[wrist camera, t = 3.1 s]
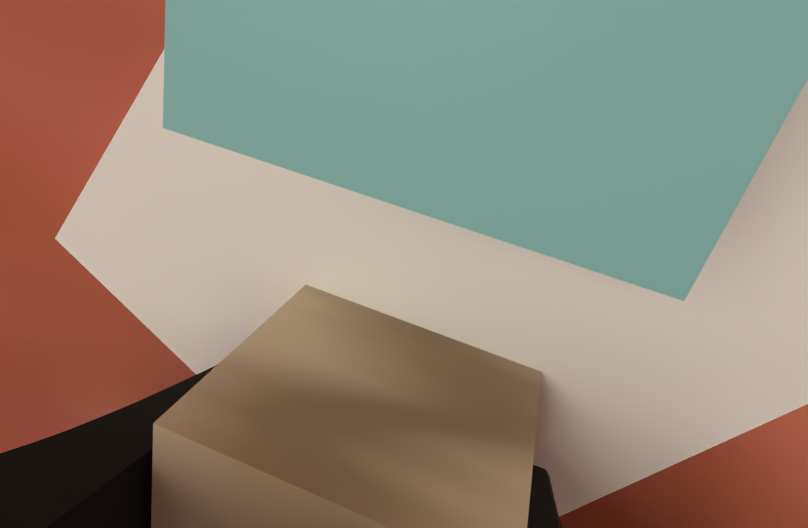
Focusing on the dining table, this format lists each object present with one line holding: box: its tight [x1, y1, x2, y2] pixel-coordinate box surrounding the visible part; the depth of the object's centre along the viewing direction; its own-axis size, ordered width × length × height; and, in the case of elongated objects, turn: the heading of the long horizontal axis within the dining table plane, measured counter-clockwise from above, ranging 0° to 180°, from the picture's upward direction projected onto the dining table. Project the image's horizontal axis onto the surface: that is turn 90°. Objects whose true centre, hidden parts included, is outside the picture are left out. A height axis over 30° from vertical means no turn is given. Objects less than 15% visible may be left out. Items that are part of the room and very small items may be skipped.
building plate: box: [55, 49, 808, 516], centre depth 9 cm, size 11×14×1 cm
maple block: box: [151, 285, 542, 528], centre depth 9 cm, size 4×4×4 cm
